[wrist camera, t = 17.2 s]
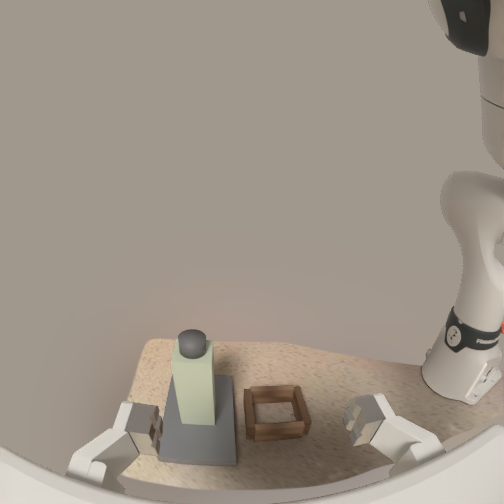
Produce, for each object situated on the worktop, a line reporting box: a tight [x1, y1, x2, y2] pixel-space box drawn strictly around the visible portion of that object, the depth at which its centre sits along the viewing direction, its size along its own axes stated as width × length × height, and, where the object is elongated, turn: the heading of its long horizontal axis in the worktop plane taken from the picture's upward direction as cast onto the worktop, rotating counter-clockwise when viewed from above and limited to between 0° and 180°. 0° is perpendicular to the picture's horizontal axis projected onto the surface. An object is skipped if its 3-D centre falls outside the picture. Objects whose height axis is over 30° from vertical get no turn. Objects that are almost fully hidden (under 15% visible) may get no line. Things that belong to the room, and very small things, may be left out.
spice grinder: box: [171, 330, 215, 425], centre depth 32 cm, size 5×5×14 cm
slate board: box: [157, 374, 236, 466], centre depth 34 cm, size 10×17×2 cm, turn 5°
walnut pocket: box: [244, 385, 311, 441], centre depth 35 cm, size 9×9×3 cm
